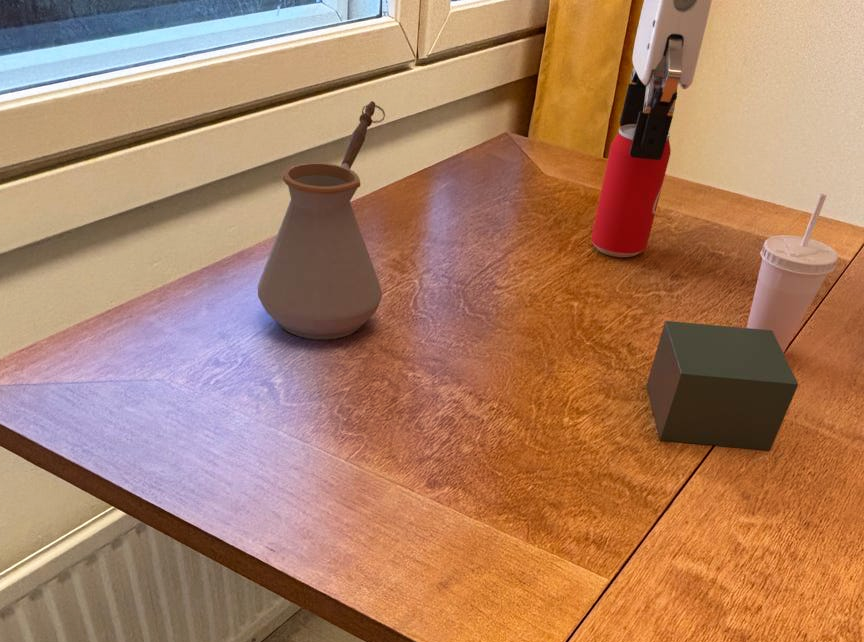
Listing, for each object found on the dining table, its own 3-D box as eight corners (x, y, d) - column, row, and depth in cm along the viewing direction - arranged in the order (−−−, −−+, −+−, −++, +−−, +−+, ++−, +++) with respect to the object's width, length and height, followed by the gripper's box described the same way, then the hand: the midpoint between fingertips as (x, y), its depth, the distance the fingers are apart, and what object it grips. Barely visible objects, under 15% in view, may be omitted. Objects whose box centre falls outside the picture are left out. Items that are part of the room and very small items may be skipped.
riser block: (747, 394, 79) (772, 330, 75) (770, 450, 72) (798, 384, 68) (646, 385, 79) (665, 320, 75) (659, 440, 73) (681, 373, 68)
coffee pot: (359, 359, 79) (366, 180, 69) (239, 336, 81) (228, 157, 70) (420, 268, 94) (433, 108, 83) (317, 249, 96) (317, 90, 85)
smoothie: (804, 349, 85) (869, 196, 76) (785, 375, 82) (850, 217, 72) (740, 329, 88) (794, 177, 78) (718, 353, 84) (772, 197, 74)
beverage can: (650, 246, 102) (681, 129, 93) (637, 265, 98) (668, 145, 89) (597, 234, 103) (622, 118, 95) (582, 252, 99) (607, 133, 91)
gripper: (751, -45, 74) (687, 174, 87) (715, -75, 87) (663, 120, 99) (662, -53, 75) (611, 166, 87) (638, -83, 87) (596, 114, 99)
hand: (639, 142), depth 93 cm, fingers open, 9 cm apart
